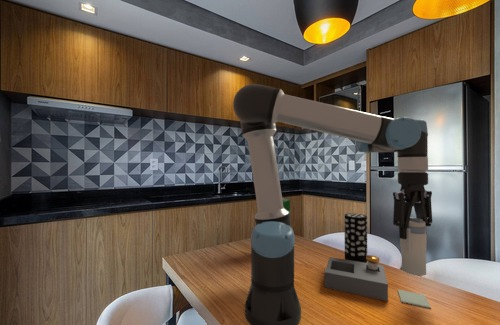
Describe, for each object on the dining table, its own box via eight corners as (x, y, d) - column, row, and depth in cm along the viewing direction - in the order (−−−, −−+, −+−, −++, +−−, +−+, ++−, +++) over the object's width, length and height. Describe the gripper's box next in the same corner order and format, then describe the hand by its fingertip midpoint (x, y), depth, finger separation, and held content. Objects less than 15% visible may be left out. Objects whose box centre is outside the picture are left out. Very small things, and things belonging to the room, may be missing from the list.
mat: (430, 308, 65) (430, 307, 65) (401, 302, 68) (401, 301, 68) (424, 296, 71) (424, 294, 71) (397, 290, 74) (397, 289, 74)
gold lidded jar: (379, 280, 76) (379, 260, 76) (366, 277, 78) (366, 258, 78) (379, 275, 80) (378, 256, 80) (366, 272, 82) (366, 254, 82)
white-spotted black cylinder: (348, 259, 99) (348, 212, 99) (369, 264, 94) (369, 215, 94) (341, 265, 93) (341, 215, 93) (364, 272, 87) (364, 218, 88)
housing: (387, 301, 69) (387, 284, 69) (324, 287, 76) (324, 272, 76) (383, 280, 81) (383, 265, 81) (329, 269, 89) (329, 256, 89)
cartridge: (431, 273, 68) (430, 219, 68) (416, 277, 66) (416, 220, 66) (410, 265, 74) (410, 214, 74) (396, 268, 72) (396, 216, 72)
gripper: (421, 170, 77) (422, 240, 76) (378, 171, 70) (378, 247, 70) (447, 171, 70) (448, 248, 69) (401, 172, 63) (402, 257, 63)
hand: (413, 247), depth 70 cm, fingers closed on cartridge, 6 cm apart
